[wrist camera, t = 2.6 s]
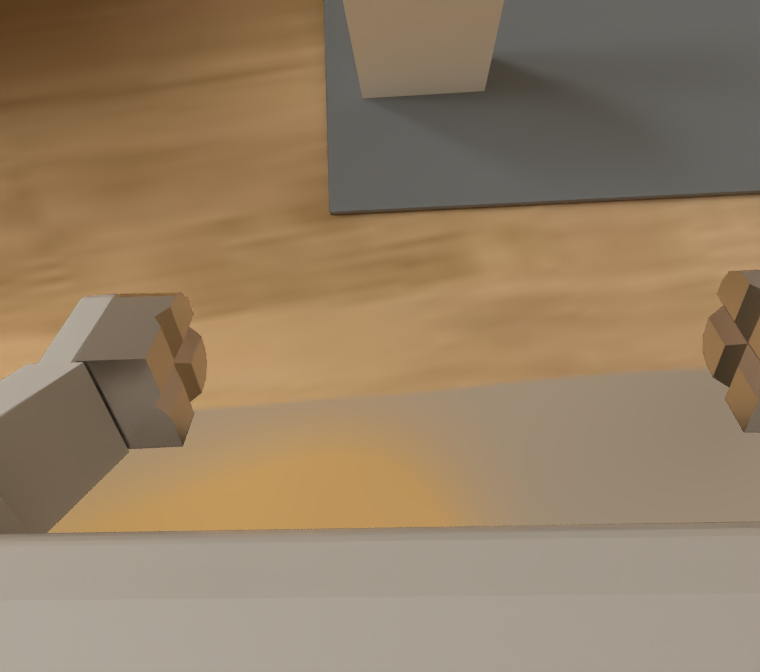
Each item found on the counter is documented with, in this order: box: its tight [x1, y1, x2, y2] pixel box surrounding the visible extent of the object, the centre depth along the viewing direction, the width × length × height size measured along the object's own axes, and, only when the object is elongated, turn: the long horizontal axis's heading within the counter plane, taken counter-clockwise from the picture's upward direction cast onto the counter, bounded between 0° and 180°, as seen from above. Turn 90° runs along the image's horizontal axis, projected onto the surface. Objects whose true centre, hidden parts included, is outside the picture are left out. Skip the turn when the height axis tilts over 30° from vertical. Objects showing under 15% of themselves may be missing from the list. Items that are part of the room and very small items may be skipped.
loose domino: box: [343, 0, 504, 99], centre depth 20 cm, size 5×2×10 cm, turn 92°
